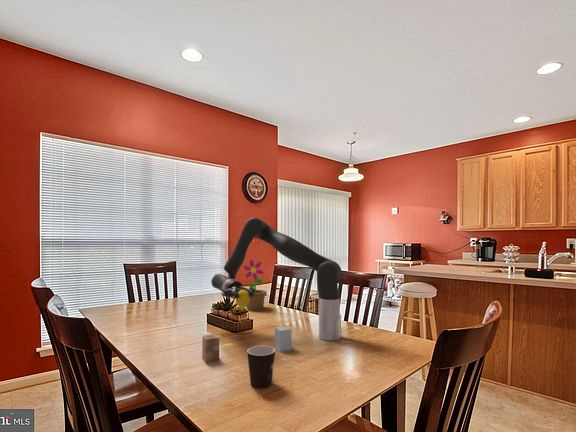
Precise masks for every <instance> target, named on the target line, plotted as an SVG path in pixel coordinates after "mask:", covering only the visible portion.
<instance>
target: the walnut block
mask: <svg viewBox="0 0 576 432" xmlns="http://www.w3.org/2000/svg"><path fill="white" fill-rule="evenodd" d="M201 340H202V343H201V344H202V345H201V347H202V348H201V349H202V350H201V351H202V353H201V355H202V356H201V357H202V360H203V361H204V363H210V362H218V361H220V336H219V335H218V333H213V334H205V335H202V339H201Z"/></svg>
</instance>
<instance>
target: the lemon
mask: <svg viewBox="0 0 576 432" xmlns="http://www.w3.org/2000/svg"><path fill="white" fill-rule="evenodd" d="M238 293H239V298H236V299H235V302H236V305H237V307H239V308H241V309H242V310H244V309H245V308H246V307H247V306H248V304H249V302H250V296H249V293H248V292H247V291H246V290H244V289H242V290H240V291H239V292H238Z"/></svg>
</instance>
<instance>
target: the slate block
mask: <svg viewBox="0 0 576 432" xmlns="http://www.w3.org/2000/svg"><path fill="white" fill-rule="evenodd" d="M292 334H293V332H292V328H290V327H288V326H287V325H283V326H277V327H274V348H275V350H277V351H278V352H280V353H281V352H282V353H283V352H287V351H292V350H293V349H292V344H293V342H292V340H293V338H292V337H293V335H292Z"/></svg>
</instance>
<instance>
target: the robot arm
mask: <svg viewBox="0 0 576 432" xmlns="http://www.w3.org/2000/svg"><path fill="white" fill-rule="evenodd" d="M254 239H259V240H261V241H263V242H265V243H267V244H269V245H270V246H271V247H272V248H274V249H275V250H276V251H277V252H278V253H279V254H281V255H282V256H283V257H285V258H287V259H288V260H290V261H293V262H295V263H298V264H299V265H303V266H306V267H308V268H311V269H313V270H314V271H315V272H316V287H317V294H318V337H319V339H320V340H324V341H329V342H330V341H331V342H332V341H340V339H341V338H342V315H341V301H340V300H341V293H340V291H339V287H338V286H339V285H338V283H339V282H338V280H339V278H340V277H341V276H342V268H341V266H340V264H339V263H338V262H336V261H334V260H332V259H329V258H327V257H325V256H323V255H321V254H319V253H317V252H316V251H314V250H313V249H311V248H309V247H308V246H306V245H305V244H303V243H301V242H300V241H299V240H297V239H295V238H293V237H291V236H289V235H288V234H284V233H282V232H279V231H277V230H276V229H275V228H273V227H271V226H270V225H269V224H267V223H266V222H265V221H263V220H262V219H260V218H258V217H254V216H253V217H250V218H248V219H247V220H246V222H245V224H244V226H243V228H242V230H241V233H240V235H239V238H238V240H237V242H236V244H235V247H234V249H233V250H232V252H231V254H230V256H229V257H228V259H227V261H226V262H225V264H224V266H223V270H224V271H225V272H226V273H228V275H229V276H227V275H226V276H225V275H224V274H222V273H216V274H214V275H213V277H212V278H211V282H210V283H211V285H212V287H213V288H215V289H217V290H219V291H221V296H223V297H225V298H230V299H233V300H234V299H235V300H236V298H239V293H238V292H239V291H240V290H242V289H244V290H246V291H247V292H248V293H249V296H250V297H253V296H254V295H255V294H254V290H255V289H254V287H249V288H248V286H244V284H242V282H240V281H239V280H237V279H236V276H237V274H238V272H239V270H240V269H241V267H242V266H243V264H244V261H245V259H246V255H247V251H248V249H249V246H250V244H251V243H252V241H253V240H254Z"/></svg>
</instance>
